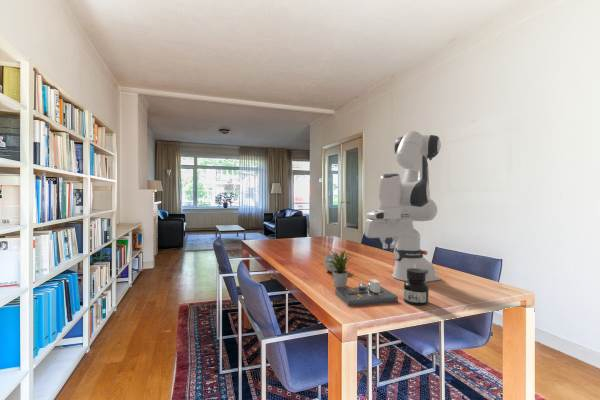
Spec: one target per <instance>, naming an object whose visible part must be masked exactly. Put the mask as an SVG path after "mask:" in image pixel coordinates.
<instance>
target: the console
mask: <svg viewBox="0 0 600 400" xmlns="http://www.w3.org/2000/svg"><path fill="white" fill-rule="evenodd" d="M334 292H335V293H334V294H335V295H336V297H338V298H339V299H340V300H341V301H343V302H344V303H345V304H346V305H347V307H354V306H355V307H356V306H364V305H365V306H366V305H368V306H369V305H376V304H377V305H378V304H379V305H380V304H391V303H398V302H399V298H398V297H399V296H397V295H396V294H394V293H392V292H391V291H389V290H388V289H386V288H385V287H383V286H382V285H380V292H378V293H374V292H372V291H371V290H370V282H368V283H367V286H366V283H364V282H360V283H359V284H358V287H338V288H335V290H334Z"/></svg>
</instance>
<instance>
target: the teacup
mask: <svg viewBox="0 0 600 400" xmlns="http://www.w3.org/2000/svg"><path fill="white" fill-rule="evenodd" d="M340 255H341V254H340ZM340 255H339V254H338V256H339V258H340ZM333 256H334V254H333V253H331V254H330V253H329V254H328V255H327V254H324V268H325V269H326V270H327V271H328V272H330V273H332V271H334V270H337V269H336V268H335V267H334V266H332V267H330V268H329V265H333V263H330V262H327V261H331V260H332V261H333V262H334V261H335V262H336V260H335V259H334V257H333ZM335 256H336V255H335ZM331 257H332V258H333V259H332V258H331ZM344 258H345V256H344ZM344 258H343V260H344ZM328 263H329V264H328ZM336 263H337V262H336ZM327 266H328V267H327Z"/></svg>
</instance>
